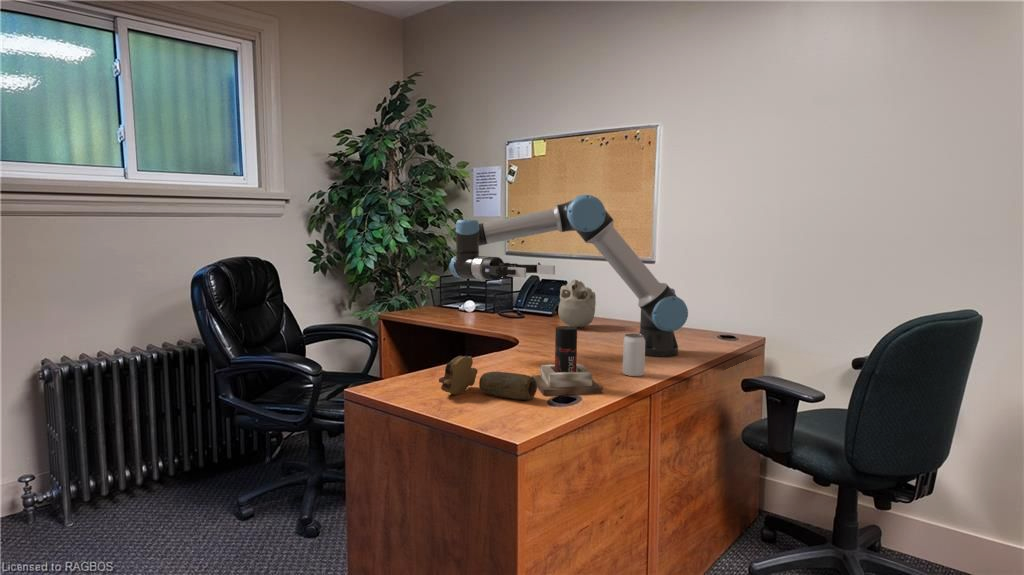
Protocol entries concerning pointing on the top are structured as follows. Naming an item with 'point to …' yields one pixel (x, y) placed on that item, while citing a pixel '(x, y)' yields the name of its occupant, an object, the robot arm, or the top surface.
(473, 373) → the wooden carving
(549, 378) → the socket
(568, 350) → the deodorant
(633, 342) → the can
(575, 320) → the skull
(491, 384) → the olive hollow cylinder
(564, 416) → the top surface
